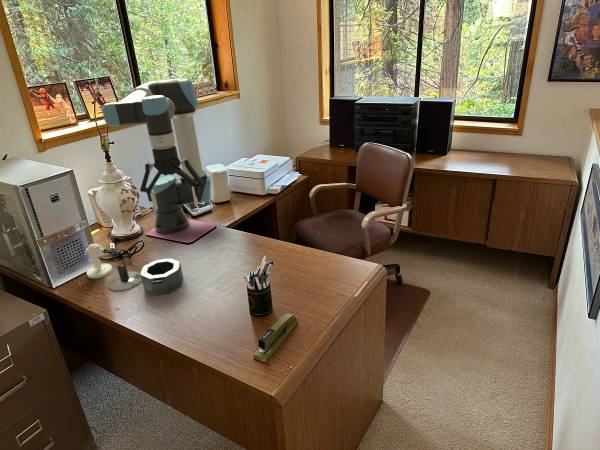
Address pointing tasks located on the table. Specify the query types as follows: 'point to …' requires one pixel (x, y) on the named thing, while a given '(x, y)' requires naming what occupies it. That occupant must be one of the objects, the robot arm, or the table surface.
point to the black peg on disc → (124, 279)
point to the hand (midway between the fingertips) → (176, 207)
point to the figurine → (97, 262)
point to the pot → (162, 277)
